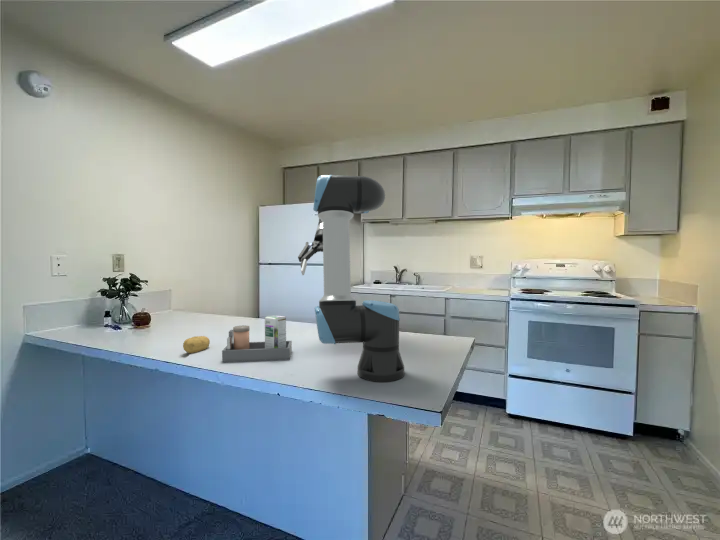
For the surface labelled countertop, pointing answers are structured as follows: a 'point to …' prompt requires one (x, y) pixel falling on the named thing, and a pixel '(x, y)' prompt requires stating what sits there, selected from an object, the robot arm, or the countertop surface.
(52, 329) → the countertop surface
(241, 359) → the gray tray
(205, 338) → the potato
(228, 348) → the pusher
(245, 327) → the jar
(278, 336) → the syrup box
